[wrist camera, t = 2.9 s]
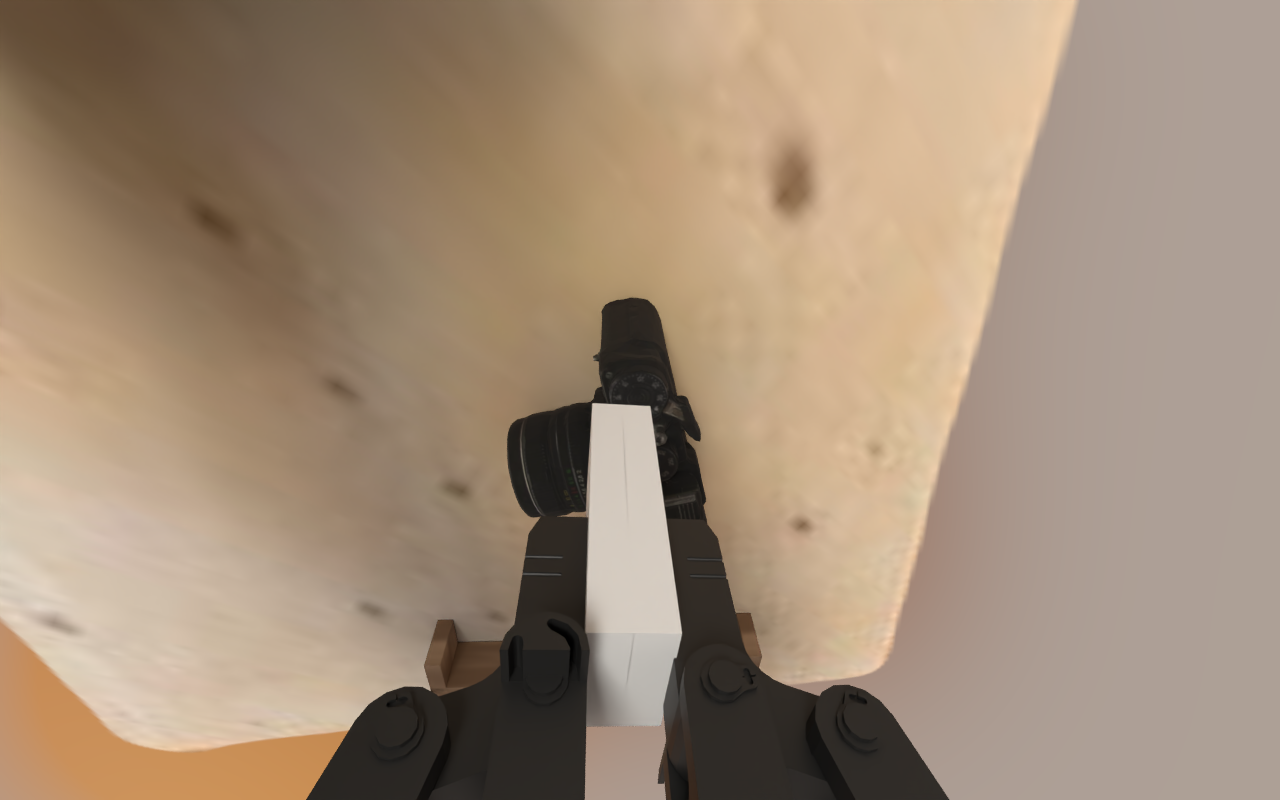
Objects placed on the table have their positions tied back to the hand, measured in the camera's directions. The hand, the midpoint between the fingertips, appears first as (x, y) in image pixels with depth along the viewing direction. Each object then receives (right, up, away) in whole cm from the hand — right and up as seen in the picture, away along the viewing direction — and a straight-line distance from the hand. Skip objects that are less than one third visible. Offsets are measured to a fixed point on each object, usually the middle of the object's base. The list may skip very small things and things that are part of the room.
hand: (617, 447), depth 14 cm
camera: (-2, +1, +20) cm, 20 cm away
